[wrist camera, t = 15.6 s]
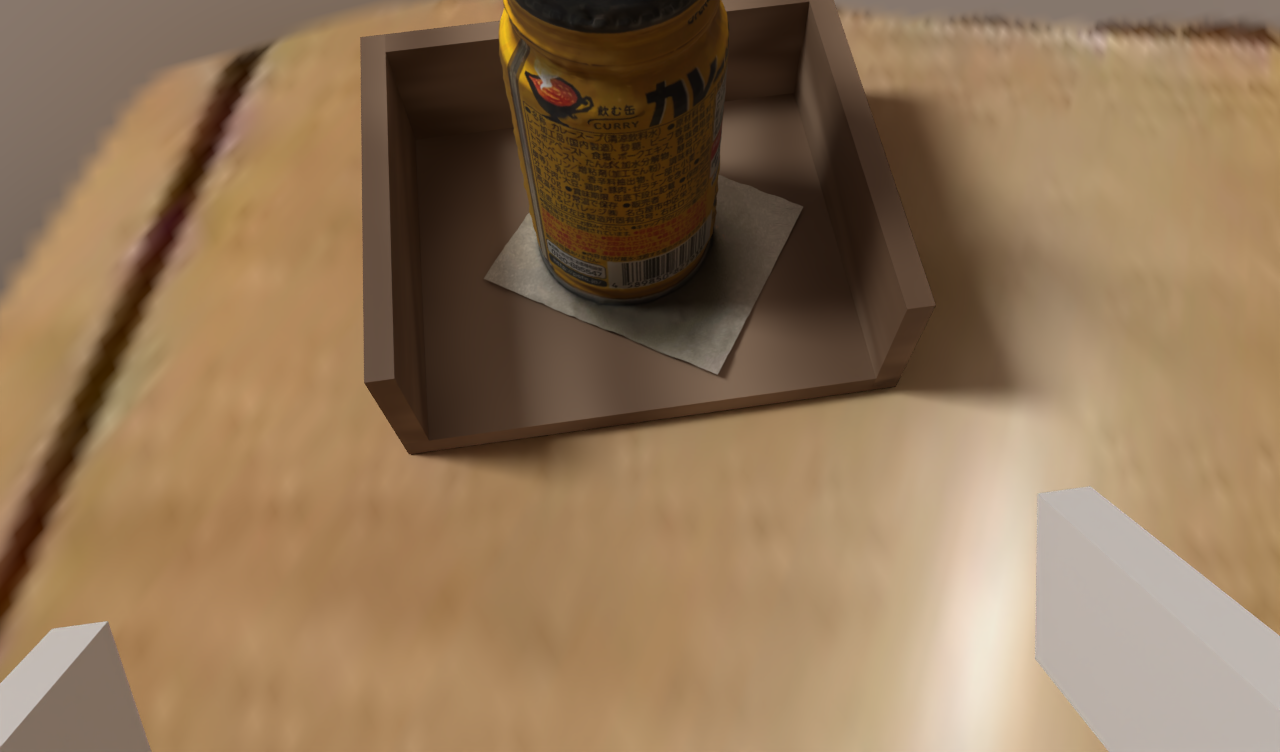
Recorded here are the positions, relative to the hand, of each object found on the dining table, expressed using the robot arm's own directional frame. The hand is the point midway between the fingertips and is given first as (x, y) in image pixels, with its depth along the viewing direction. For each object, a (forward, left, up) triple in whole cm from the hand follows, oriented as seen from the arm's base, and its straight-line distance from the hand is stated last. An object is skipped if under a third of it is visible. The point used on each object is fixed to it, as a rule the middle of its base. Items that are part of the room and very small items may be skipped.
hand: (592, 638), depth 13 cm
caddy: (+6, -15, -14) cm, 21 cm away
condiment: (+6, -15, -13) cm, 21 cm away
